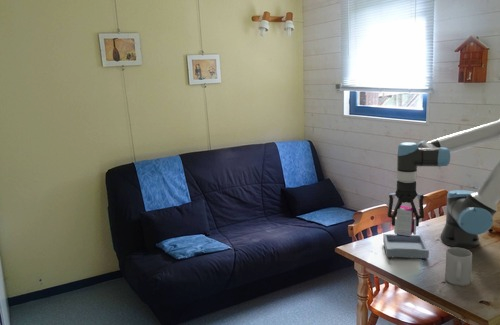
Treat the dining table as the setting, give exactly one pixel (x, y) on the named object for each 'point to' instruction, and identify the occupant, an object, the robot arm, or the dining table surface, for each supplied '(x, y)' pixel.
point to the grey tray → (405, 246)
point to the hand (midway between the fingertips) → (404, 232)
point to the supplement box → (405, 221)
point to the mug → (458, 266)
